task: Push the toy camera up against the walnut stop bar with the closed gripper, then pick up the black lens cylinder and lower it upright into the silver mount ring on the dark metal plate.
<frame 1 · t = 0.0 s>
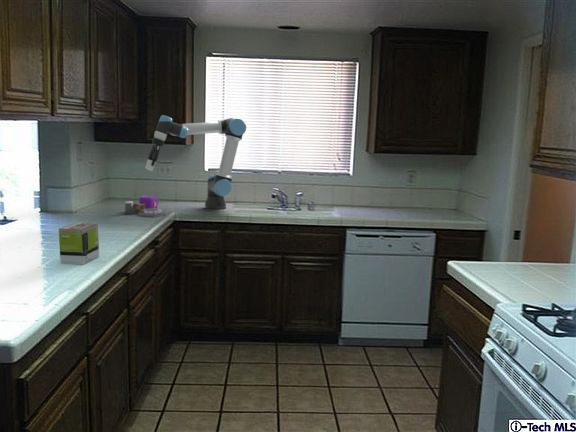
hand: (148, 170, 351), 28 cm above the countertop, tool tilted 20°, fingers open, 13 cm apart
mount: (152, 215, 345), on the countertop
stop bar: (136, 212, 352), on the countertop
lens: (129, 214, 346), on the countertop
tea box: (80, 260, 224), on the countertop
toy camera: (149, 210, 365), on the countertop
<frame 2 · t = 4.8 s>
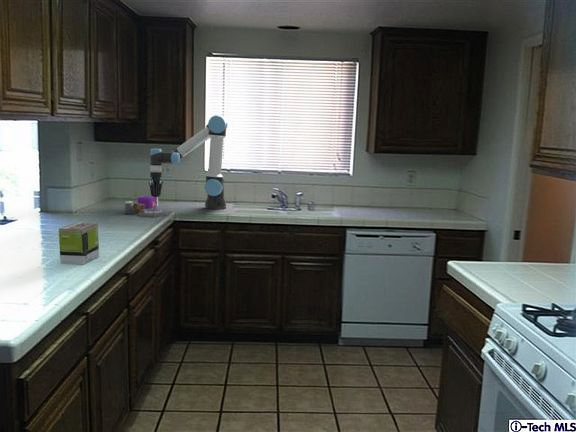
hand: (155, 205, 372), 2 cm above the countertop, tool pointing down, fingers closed
toy camera: (148, 210, 364), on the countertop, touching gripper
everything else where it was.
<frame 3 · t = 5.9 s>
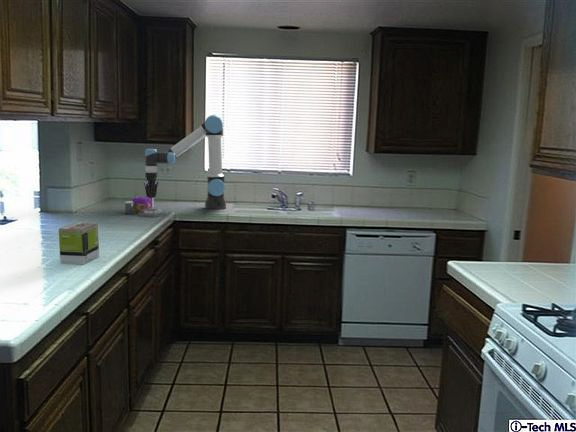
hand: (151, 206, 367), 2 cm above the countertop, tool pointing down, fingers closed
toy camera: (143, 211, 359), on the countertop, touching gripper, stop bar
everything else where it was.
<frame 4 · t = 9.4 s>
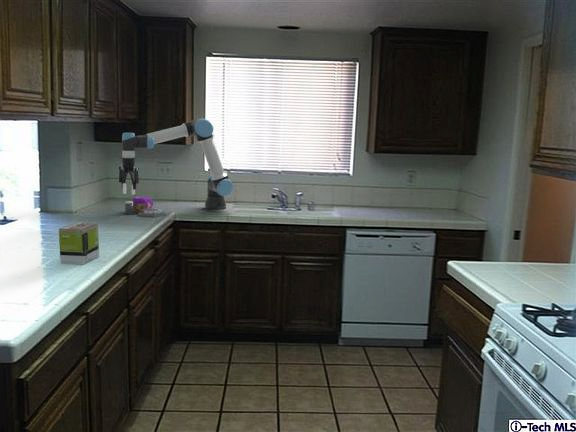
hand: (128, 194, 344), 13 cm above the countertop, tool pointing down, fingers open, 6 cm apart
toy camera: (143, 211, 359), on the countertop
everything else where it was.
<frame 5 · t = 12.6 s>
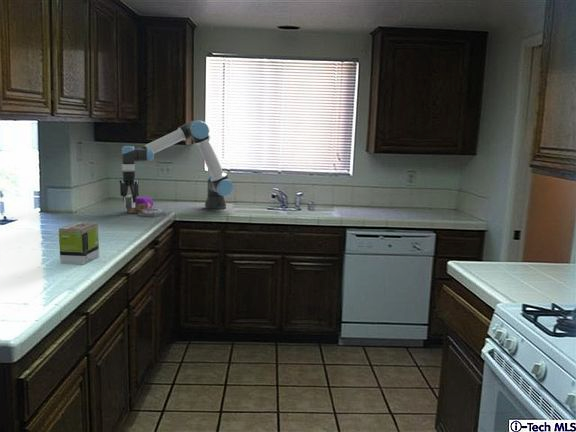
hand: (129, 207, 346), 4 cm above the countertop, tool pointing down, fingers closed on lens, 5 cm apart
lens: (130, 208, 346), point 4 cm above the countertop, touching gripper
everything else where it was.
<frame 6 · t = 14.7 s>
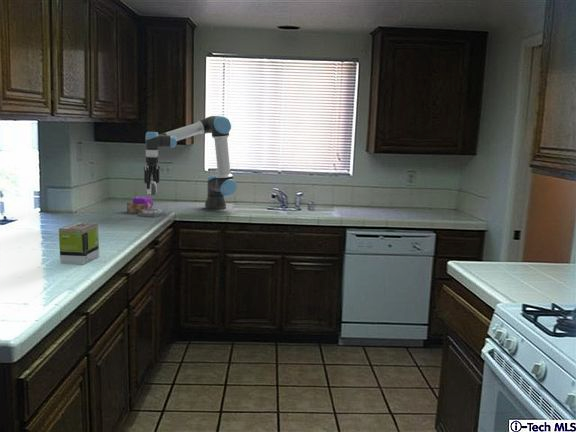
hand: (151, 193, 343), 14 cm above the countertop, tool pointing down, fingers closed on lens, 5 cm apart
lens: (151, 194, 343), point 13 cm above the countertop, touching gripper
everything else where it was.
when the fingers open (4 cm above the countertop, at t = 17.1 s): lens drops 1 cm, resting on mount.
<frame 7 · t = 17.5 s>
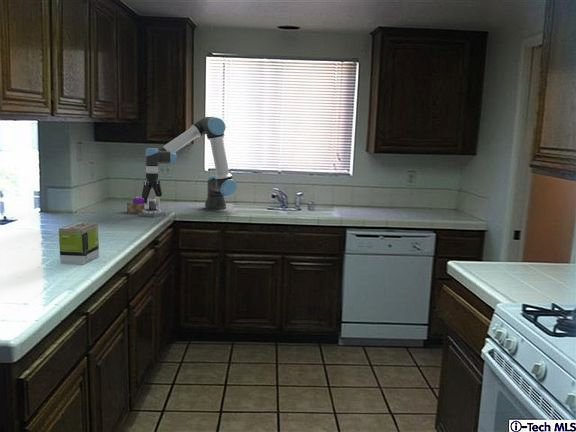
hand: (152, 207, 345), 5 cm above the countertop, tool pointing down, fingers open, 10 cm apart
lens: (152, 212, 345), point 2 cm above the countertop, touching mount
everything else where it was.
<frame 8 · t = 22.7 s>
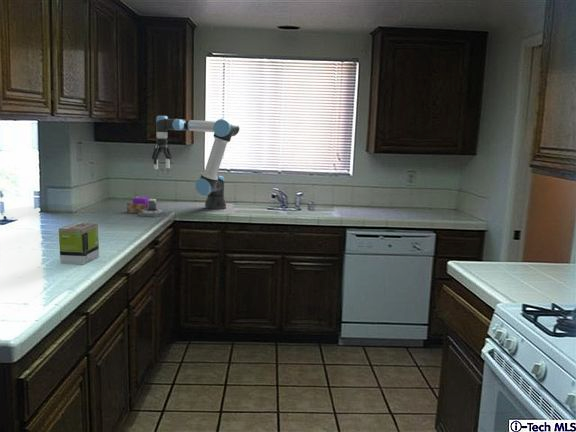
hand: (161, 168, 382), 27 cm above the countertop, tool pointing down, fingers open, 13 cm apart
nothing on the countertop moved.
at the end: lens 0.1 cm off-centre on the mount, point 2.1 cm above the mount's base; lens tilted 1°; toy camera moved 6.5 cm from its start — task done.
